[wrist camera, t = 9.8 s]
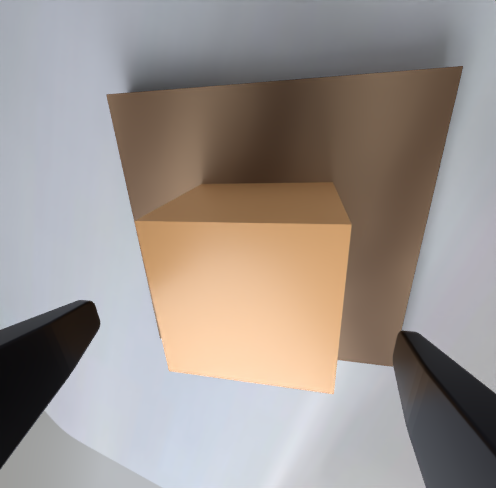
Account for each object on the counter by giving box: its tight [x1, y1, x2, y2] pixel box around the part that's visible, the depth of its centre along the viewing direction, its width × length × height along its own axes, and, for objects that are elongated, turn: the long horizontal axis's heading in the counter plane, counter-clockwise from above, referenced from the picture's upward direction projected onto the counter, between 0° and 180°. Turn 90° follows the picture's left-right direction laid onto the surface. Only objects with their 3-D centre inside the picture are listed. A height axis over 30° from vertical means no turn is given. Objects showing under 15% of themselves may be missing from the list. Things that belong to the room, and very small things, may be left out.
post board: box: [107, 66, 463, 367], centre depth 12 cm, size 14×14×5 cm
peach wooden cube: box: [135, 182, 352, 394], centre depth 11 cm, size 6×6×6 cm
